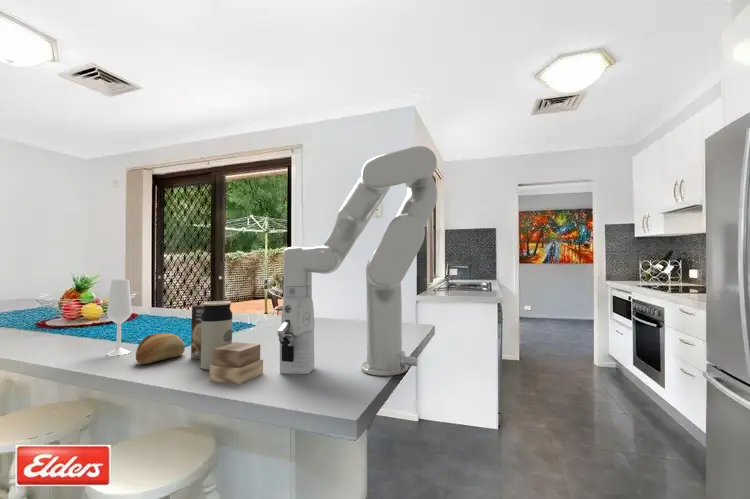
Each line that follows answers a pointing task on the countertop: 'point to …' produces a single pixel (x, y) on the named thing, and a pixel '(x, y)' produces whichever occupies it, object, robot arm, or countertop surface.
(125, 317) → the champagne flute
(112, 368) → the countertop surface
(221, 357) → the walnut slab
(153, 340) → the bread roll
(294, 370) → the small box
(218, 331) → the travel mug
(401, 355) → the robot arm
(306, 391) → the countertop surface
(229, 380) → the oak slab
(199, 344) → the coffee box
